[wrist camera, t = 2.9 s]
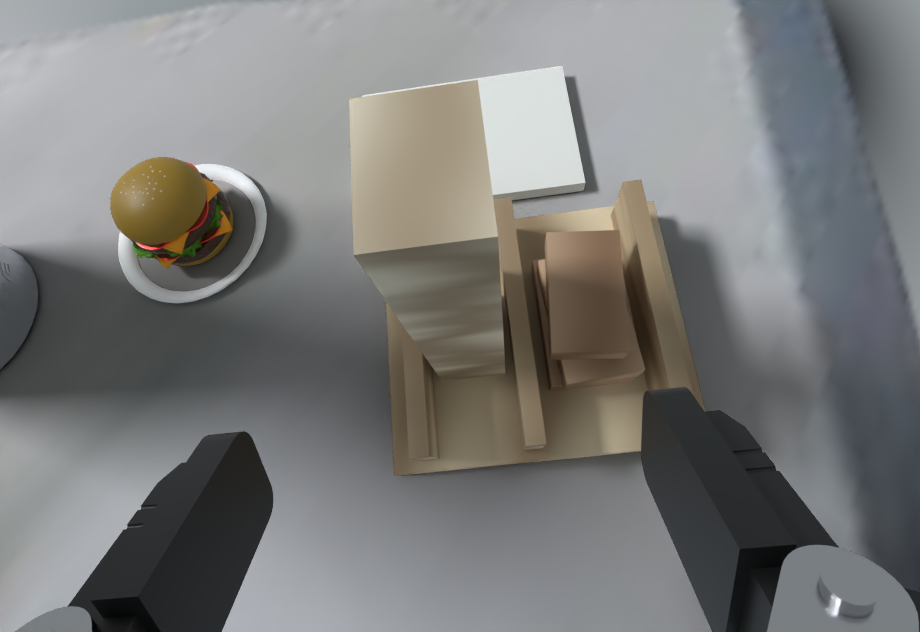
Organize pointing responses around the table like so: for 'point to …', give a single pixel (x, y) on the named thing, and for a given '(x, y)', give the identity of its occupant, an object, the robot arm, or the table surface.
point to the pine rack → (542, 359)
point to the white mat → (528, 134)
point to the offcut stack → (585, 311)
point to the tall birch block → (430, 222)
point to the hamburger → (179, 221)
